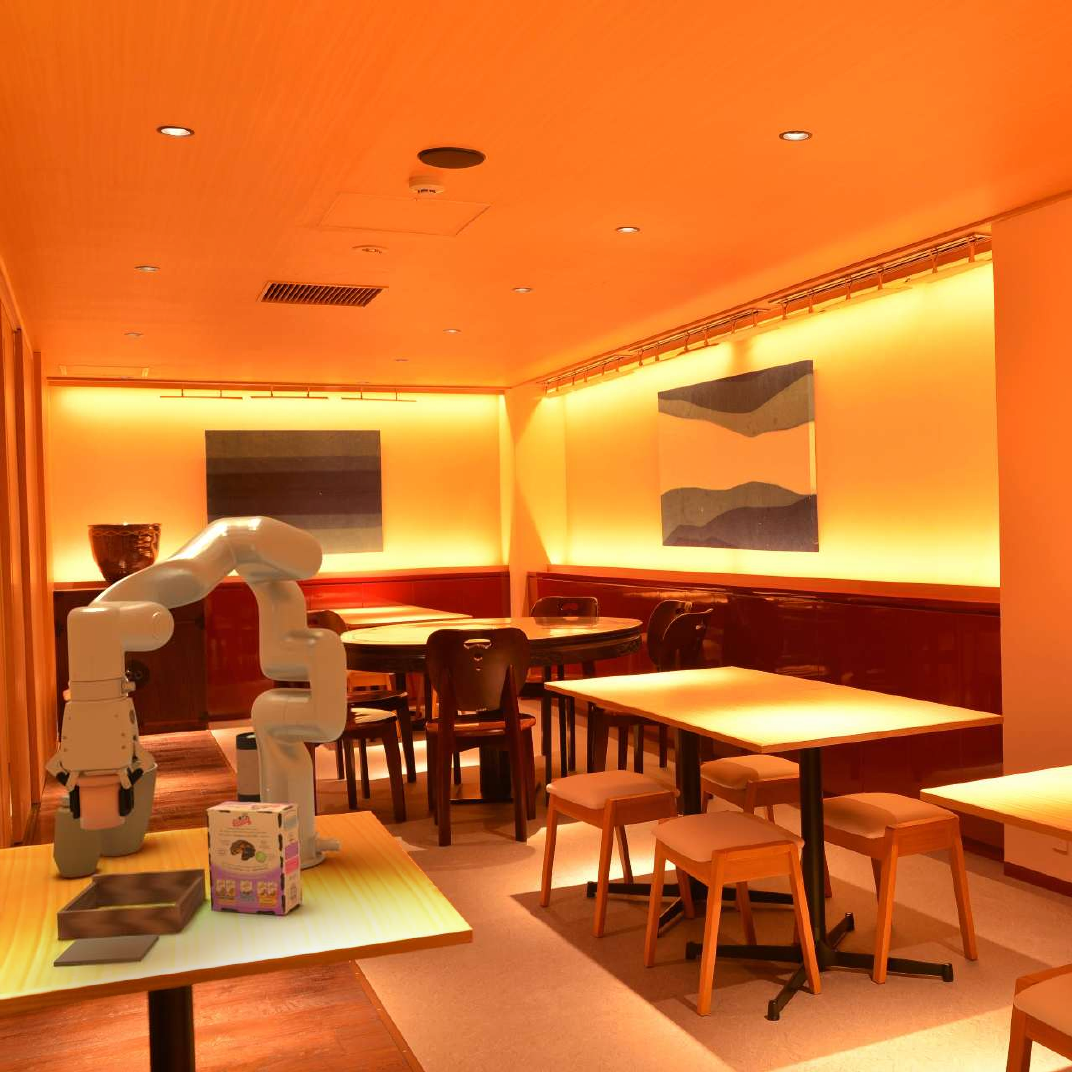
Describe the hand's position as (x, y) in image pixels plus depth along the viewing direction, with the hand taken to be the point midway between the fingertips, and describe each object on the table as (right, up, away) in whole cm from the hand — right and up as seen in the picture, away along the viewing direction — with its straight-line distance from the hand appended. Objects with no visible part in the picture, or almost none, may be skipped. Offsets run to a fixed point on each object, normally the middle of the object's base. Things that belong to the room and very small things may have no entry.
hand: (102, 814), depth 162 cm
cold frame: (0, -20, +14) cm, 24 cm away
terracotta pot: (0, -1, 0) cm, 1 cm away
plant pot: (-18, -21, +54) cm, 61 cm away
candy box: (+18, -19, +17) cm, 31 cm away
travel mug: (+7, -20, +64) cm, 67 cm away
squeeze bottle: (-20, -21, +40) cm, 50 cm away
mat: (+1, -20, 0) cm, 20 cm away
